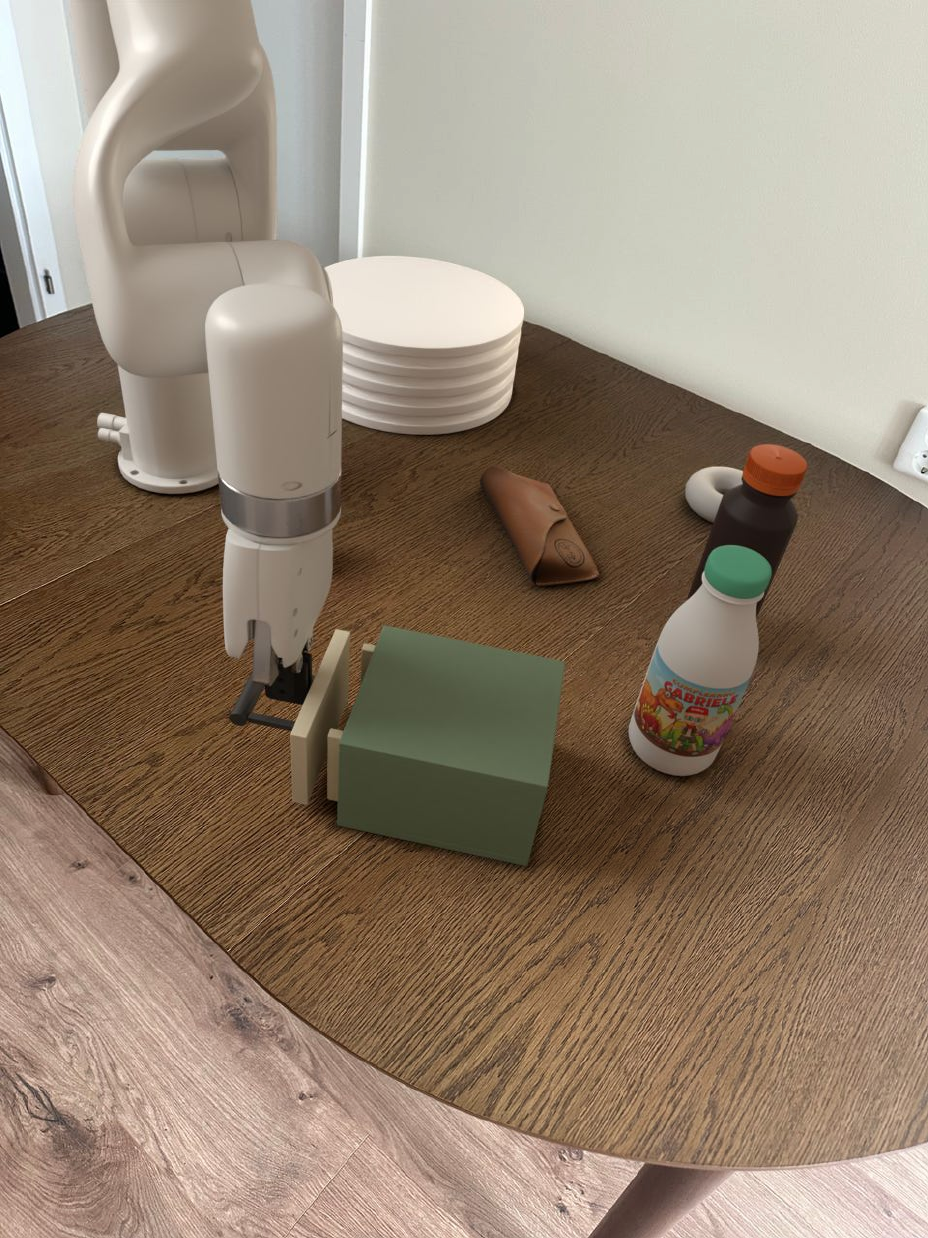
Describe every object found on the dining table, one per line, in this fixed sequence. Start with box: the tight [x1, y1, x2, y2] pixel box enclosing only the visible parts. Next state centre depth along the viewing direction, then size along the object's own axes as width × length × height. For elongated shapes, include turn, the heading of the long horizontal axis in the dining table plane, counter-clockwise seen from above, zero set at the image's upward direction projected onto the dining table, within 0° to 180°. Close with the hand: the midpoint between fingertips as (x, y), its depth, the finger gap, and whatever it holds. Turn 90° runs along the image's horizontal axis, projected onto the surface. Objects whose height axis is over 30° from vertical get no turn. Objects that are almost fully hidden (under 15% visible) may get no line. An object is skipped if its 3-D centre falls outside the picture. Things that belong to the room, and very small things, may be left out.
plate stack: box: [324, 255, 525, 436], centre depth 119 cm, size 28×28×12 cm
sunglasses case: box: [479, 464, 600, 587], centre depth 99 cm, size 18×7×7 cm
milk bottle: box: [628, 545, 772, 777], centre depth 72 cm, size 8×8×20 cm
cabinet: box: [336, 625, 566, 867], centre depth 70 cm, size 15×13×10 cm
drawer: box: [228, 628, 376, 806], centre depth 70 cm, size 19×11×8 cm, turn 80°
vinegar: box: [685, 443, 809, 620], centre depth 84 cm, size 7×7×20 cm
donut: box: [684, 466, 743, 524], centre depth 106 cm, size 10×4×10 cm
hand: (289, 694), depth 69 cm, fingers closed
